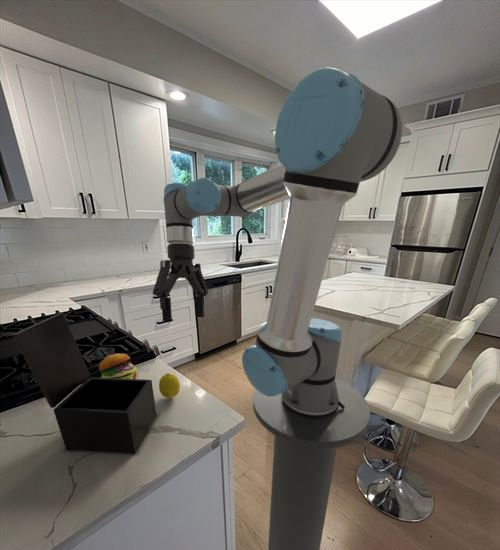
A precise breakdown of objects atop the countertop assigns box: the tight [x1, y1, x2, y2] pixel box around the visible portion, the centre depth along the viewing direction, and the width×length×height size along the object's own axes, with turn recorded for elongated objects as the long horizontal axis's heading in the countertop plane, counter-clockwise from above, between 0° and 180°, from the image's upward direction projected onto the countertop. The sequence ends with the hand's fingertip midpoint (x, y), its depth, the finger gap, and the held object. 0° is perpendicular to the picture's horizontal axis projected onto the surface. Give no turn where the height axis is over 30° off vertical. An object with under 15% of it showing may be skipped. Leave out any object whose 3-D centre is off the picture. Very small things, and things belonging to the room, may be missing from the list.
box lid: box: [12, 312, 91, 409], centre depth 59 cm, size 16×13×1 cm
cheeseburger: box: [98, 353, 138, 379], centre depth 86 cm, size 10×11×10 cm
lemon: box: [158, 372, 181, 399], centre depth 77 cm, size 6×6×8 cm
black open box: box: [53, 376, 158, 454], centre depth 64 cm, size 16×13×11 cm
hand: (184, 319), depth 82 cm, fingers open, 13 cm apart
